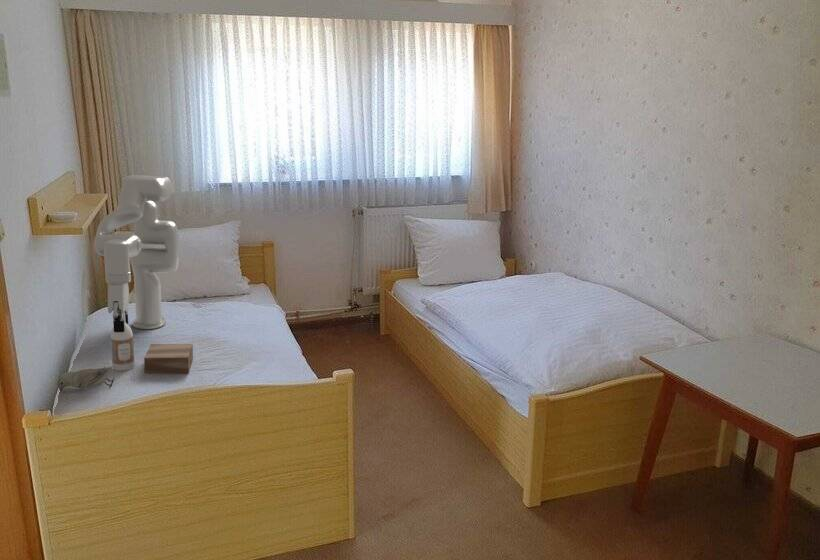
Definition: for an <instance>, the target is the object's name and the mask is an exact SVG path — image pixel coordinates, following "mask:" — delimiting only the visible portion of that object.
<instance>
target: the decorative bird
mask: <svg viewBox="0 0 820 560" xmlns="http://www.w3.org/2000/svg"><path fill="white" fill-rule="evenodd" d="M112 370H113V366H112V365H110V366H107V367H106V366H103V367H99V368H85V369H81V370H76V371H67V372H63V373H62V374H61V375H60V376H59V378H58V381H57V382H58V383H57V385H58V390H60V391H61V390H63V389H65V388H67V387H71V388H75V389H80V390H85V389H92V388H95V387H97V386H98V387H99V386H102V384H105V385H107V386H109V390H111V388H112V386H113V383H114V379H115V377H113V378H112V380H110V379H109V378H107V377H108V374H109V371H112ZM105 380H107V381H108V382H111V383H110V384H109V383H107V381H105Z"/></svg>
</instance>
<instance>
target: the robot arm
mask: <svg viewBox="0 0 820 560" xmlns="http://www.w3.org/2000/svg"><path fill="white" fill-rule="evenodd" d="M172 193H173V183H172V180H171V179H170V178H169V177H167V176H159V175H158V176H157V175H138V174H133V175H127V176H125V177H124V178H123V179H122V186H121V190H120V194H119V199H118V203H117V208H116V209H114V210H113V211H112V212H111V211H110V213H109V214H107V215H106V216H105V217H104V218H103V219H102V220H101V221H100V222H99V224H98V226H97V229H96V233H95V238H94V250H95V252H96V254H98V255H100V256H103V257H104V271H105V272H104V274H105V283H106V284H107V312H108V313H109V314H111V313H112V321H113V322H112V323H113V327H114V332H124V331H125V330H124V320H123V312H125V321H126V323H127V324H128V325H129V314H128V313H129V312H128V307H129V305H130V290H129V289H130V286H129V283H130V282H132V278H131V277H132V276H131V275H132V274H131V270H132V273H133V282H134V298H135V303H134V304H135V319H133V321H132V326H133V328H136V329H139V330H152V329H159V328H161V327H163V326H165V325H166V324H167V320H166V318H164V317H162V316H163V315H162V290H161V288H162V287H161V280H160V279H159V277H158V276H157V274H156V273H173V272H174V273H175V272H176V271H177V270H178V268H179V263H180V259H179V258H180V257H179V255H180V254H179V252H180V251H179V230H178V226H177V224H176V223H175V222H174V221H172V220H163V219H162V220H159V218H158V217H159V215H158V206H157V204H156V203H155V202H165V201H167V200H169V199H170V197H171V196H172V195H173V194H172ZM131 224H133V229H134V231H133V233H134V234H129V233H128V234H126V233H123V234H121V233H112V232H113V231H115V230H116V229H119V228H122V227H125V226H129V225H131ZM143 245H157V246H158V245H160V246H162V245H163V246H164V247H165V248H164V247H163V248H162V247H143ZM119 311H121V312H119ZM118 314H120V315H118Z"/></svg>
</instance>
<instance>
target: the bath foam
mask: <svg viewBox="0 0 820 560" xmlns="http://www.w3.org/2000/svg"><path fill="white" fill-rule="evenodd" d="M119 312H121V311H119ZM118 315H120V314H118ZM123 320H124V330H125V331H124V332H114V326H113V327H112V329H111V331H110V351H111V362H112V363H111V364H112V365H111V367H112V366H113V367H112V370H115V371H119V372H125V371H129V370H132V369H133V368H134V367H135V351H134V347H135V346H134V333H133V330H132V328H131V327H130V326H129V323H128V324H127V323H126V321H125V312H123Z"/></svg>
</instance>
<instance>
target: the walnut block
mask: <svg viewBox="0 0 820 560" xmlns="http://www.w3.org/2000/svg"><path fill="white" fill-rule="evenodd" d="M193 347H194V345H193V343H150V345H149V347H148V349H147V351H146V354H145V356H144V358H143V360H144V361H143V362H144V375H189V374H190V371H191V368H192V367H191V366H192V364H193V360H194V351H193V350H194V348H193Z"/></svg>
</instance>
